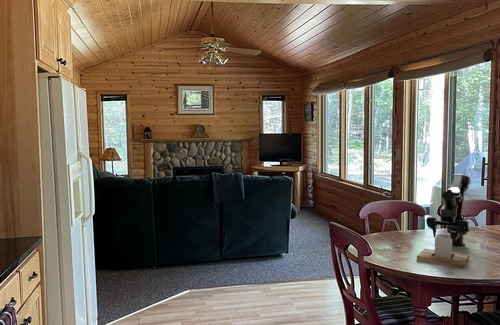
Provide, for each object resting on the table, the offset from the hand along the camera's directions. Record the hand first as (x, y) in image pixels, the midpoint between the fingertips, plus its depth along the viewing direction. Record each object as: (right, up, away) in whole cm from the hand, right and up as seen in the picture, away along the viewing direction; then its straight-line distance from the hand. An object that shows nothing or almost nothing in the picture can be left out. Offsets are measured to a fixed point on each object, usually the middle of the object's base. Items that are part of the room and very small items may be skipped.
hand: (444, 238), depth 201 cm
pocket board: (-1, -10, -1) cm, 10 cm away
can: (-1, -10, -1) cm, 10 cm away
